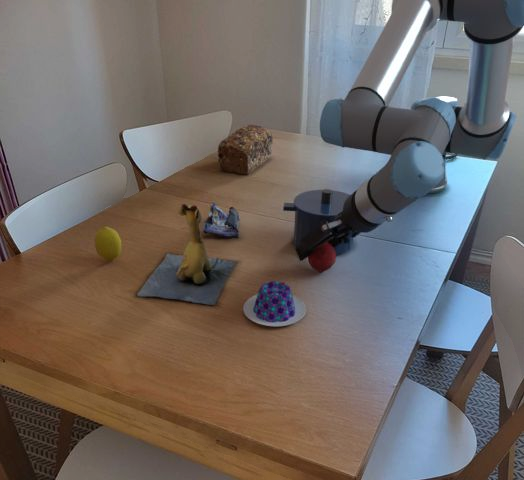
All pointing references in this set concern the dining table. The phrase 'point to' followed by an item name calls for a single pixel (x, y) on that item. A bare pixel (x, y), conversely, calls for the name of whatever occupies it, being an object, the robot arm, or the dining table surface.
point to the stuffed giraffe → (189, 269)
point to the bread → (245, 149)
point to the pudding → (274, 305)
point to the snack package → (222, 222)
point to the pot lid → (321, 202)
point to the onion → (322, 257)
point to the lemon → (108, 243)
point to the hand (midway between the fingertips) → (311, 251)
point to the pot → (311, 227)
